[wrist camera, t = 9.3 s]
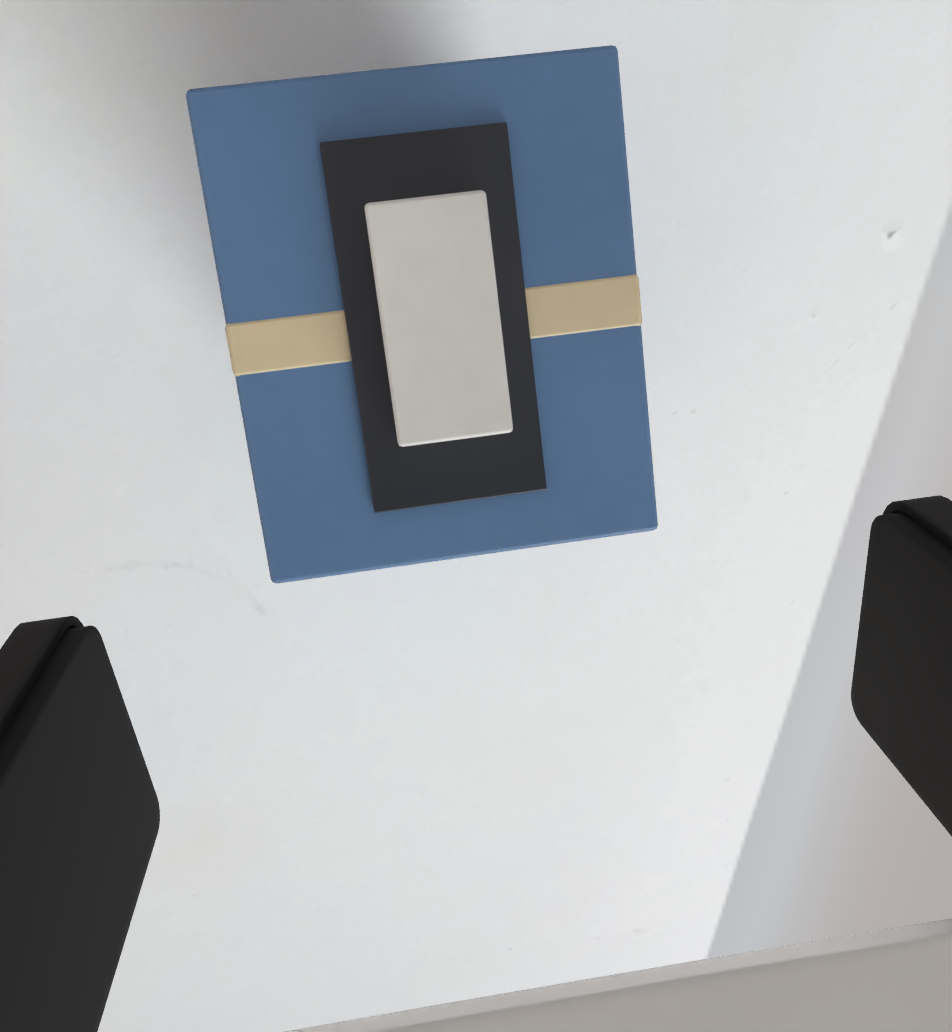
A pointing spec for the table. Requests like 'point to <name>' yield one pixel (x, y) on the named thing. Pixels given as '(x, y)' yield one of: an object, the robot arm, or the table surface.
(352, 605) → the table surface
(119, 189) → the table surface
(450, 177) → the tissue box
